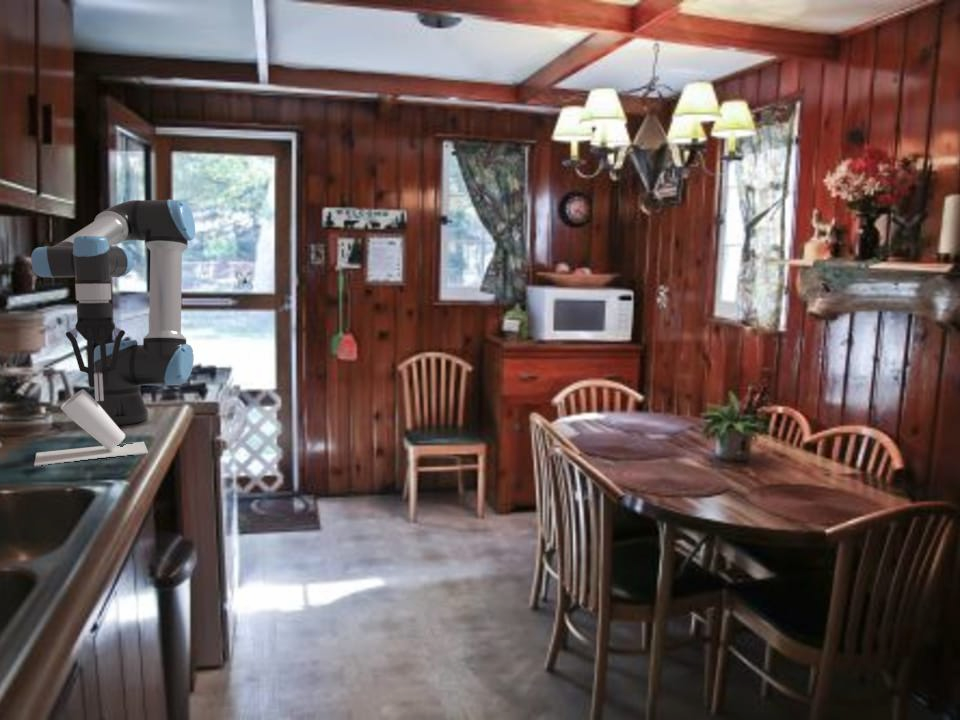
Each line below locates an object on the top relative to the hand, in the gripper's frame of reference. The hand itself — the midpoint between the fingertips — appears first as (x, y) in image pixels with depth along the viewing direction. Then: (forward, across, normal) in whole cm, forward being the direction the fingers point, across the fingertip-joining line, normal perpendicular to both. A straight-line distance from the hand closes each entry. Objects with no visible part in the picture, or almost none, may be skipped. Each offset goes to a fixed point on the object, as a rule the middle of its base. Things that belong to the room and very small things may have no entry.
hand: (99, 400), depth 189 cm
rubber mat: (+13, +2, -1) cm, 13 cm away
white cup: (+11, -4, -1) cm, 12 cm away
